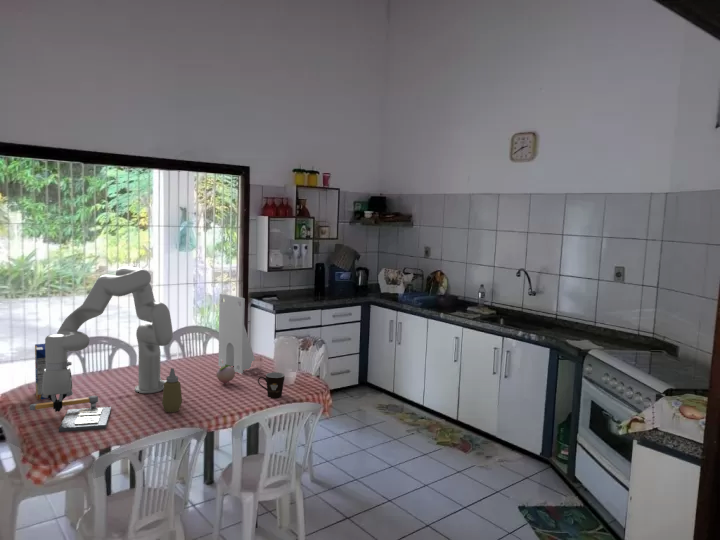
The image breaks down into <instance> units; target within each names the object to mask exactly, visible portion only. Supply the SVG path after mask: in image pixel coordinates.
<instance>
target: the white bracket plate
mask: <svg viewBox="0 0 720 540" xmlns="http://www.w3.org/2000/svg"><path fill="white" fill-rule="evenodd" d="M245 300H246V299H245V298H244V297H242V296H241V297H240V296H236V295H231V294H226V293H222V292H220V293H219V303H218V304H219V309H218V310H219V312H218V313H219V315H218V318H219V319H218V360H217V361H218V365H217V366H221V367H223V366H225V364H226V365H230V366H234V367H233V369H234V371H235V372H238V373H241V374H242V373H243V374H244V371H243V370H245V369H249V368H250V367H251V363H252V361H254V360H255V361H256V358H255V356H254V351H253V349H252V346H251V343H250V339H249V335H248V333H247V330H246V325H245V306H246V305H245V303H246V302H245Z"/></svg>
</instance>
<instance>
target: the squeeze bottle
mask: <svg viewBox="0 0 720 540" xmlns="http://www.w3.org/2000/svg"><path fill="white" fill-rule="evenodd" d="M165 378H166V381H167V382H165V383H164V385H163V386H164V389H163V390H162V391H163V392H162V400H161V403H162V407H163V410H164V412H166V413H176V412H179V411H180V408H181V406H182V403H183V397H182V389H181V388H182V386H181V382H180V381H179V376H178V375H176V373H175V368H170V371H169V374H168V376H166V377H165Z"/></svg>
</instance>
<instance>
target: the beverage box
mask: <svg viewBox="0 0 720 540" xmlns="http://www.w3.org/2000/svg"><path fill="white" fill-rule="evenodd" d="M34 357H35V358H34V362H35V363H34V366H35V370H34V371H35V372H34V373H35V374H34V376H35V396H36V400H37V401H40V399H42V400H48V398H47V399H46V398H44V397H42V394H43V392H42V384H43V374H44V369H46V354H45V343H37V344H34Z"/></svg>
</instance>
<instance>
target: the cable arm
mask: <svg viewBox="0 0 720 540" xmlns="http://www.w3.org/2000/svg"><path fill="white" fill-rule="evenodd" d="M98 402H99V395H90V396H88V397H87V396H86V397H82V398H81V397H79V398H74V399H65V400H64V399H63V400H62V407H65V406H73V405H80V404H81V405H82V404H88V403H89V404H91V403H96V404H97V403H98ZM50 408H51V409H52V408H53V402H52V401H49V402H41V403H32V404H29V410H30V411H36V410H42V409H43V410H44V409H50Z"/></svg>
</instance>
